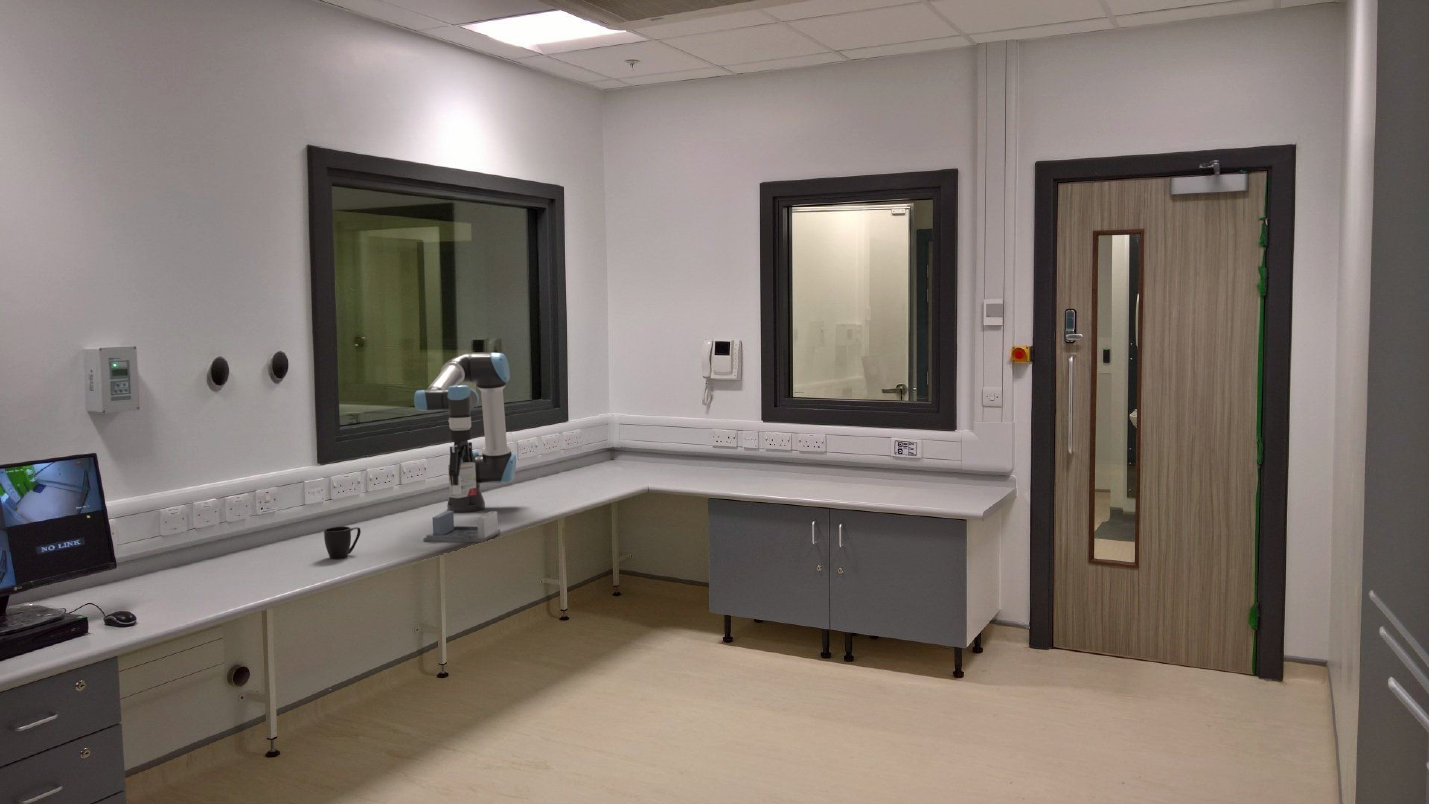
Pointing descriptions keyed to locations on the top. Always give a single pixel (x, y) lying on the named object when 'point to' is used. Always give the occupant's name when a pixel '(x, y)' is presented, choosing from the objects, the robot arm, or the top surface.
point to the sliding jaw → (443, 523)
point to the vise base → (470, 531)
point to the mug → (339, 541)
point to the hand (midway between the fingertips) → (463, 491)
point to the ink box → (465, 480)
